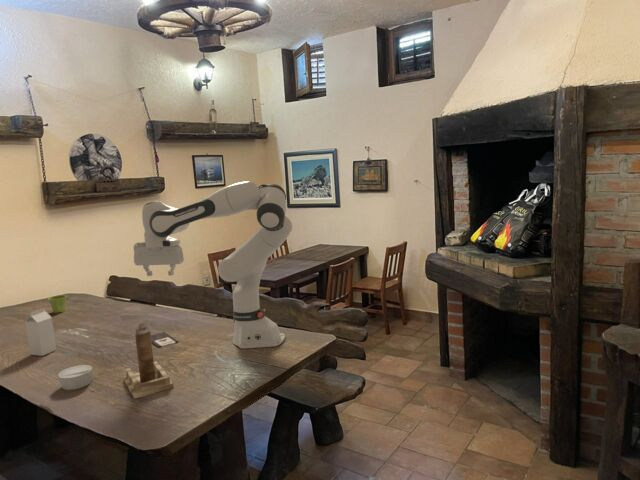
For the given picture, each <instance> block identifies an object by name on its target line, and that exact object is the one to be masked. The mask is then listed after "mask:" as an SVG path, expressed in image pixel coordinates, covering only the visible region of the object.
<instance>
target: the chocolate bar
mask: <svg viewBox="0 0 640 480" xmlns="http://www.w3.org/2000/svg"><path fill="white" fill-rule="evenodd" d="M151 342H152V345H154V346H155V347H156V348H158V349H159V348H163V347H166V346H170V345H174V344H178V343H179V340H177V339H176V338H174V337H173V336H171V335H170V334H168V333H167V332H165V331H162V332H159V333H155V334H151Z"/></svg>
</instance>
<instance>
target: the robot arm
mask: <svg viewBox="0 0 640 480" xmlns="http://www.w3.org/2000/svg"><path fill="white" fill-rule="evenodd" d="M286 200H287V195H286V191H285V189H284V188H283V187H282V186H281V185H278V184H276V183H268V184H263V183H262V184H261V185H259V186H258V185H257V183H256V182H255V181H252V180H251V181H250V180H247V181H240V182H236V183H233V184H230V185H228V186H224V187H222V188H220V189H218V190H216V191H214V192H213V193H211V194H209V195H207V196H205V197H204V198H202V199H200V200H199V201H196V202H193V203H192V204H189V205H185V206H183V207H180V208H178V207H173V206H171V205H168V204H165V202H164V201H161V200H155V201H150V202H147V203H145V204H144V205H143V206H142V210H141V211H142V212H141V214H142V215H141V216H142V217H141V218H142V226H143V228H144V235H143V236H144V241H143V242H136V243H135V244H134V245H133V264H135V266H142V268H143V270H144V271H145V272H146V276H147V277H151V276H153V270H150V266H162V265H163V266H165V265H169V267H170V270H168V271H167V275H168V276H174V275H175V272H174V271H175V268H176V266H177V265H180V264H182V263H183V262H184V259H185V258H184V257H185V256H184V252H183V248H182V246H181V245H180V244H181V240H180V239H179V238H176V237H174V236H171V235H173V234H174V235H175V234H177V233H182V232H183V231H185V230H186V229H188V227H189V225H190V223H193V222H197V221H199V220H205V219H214V218H223V217H224V218H225V217H229V216H233V215H236V214H240V213H242V212H245V211H247V210H254V211H256V219H257V222H258V224H259V225H260V227H259V229H257V231H255V233H254V234H253V235H252V236H251V237H250V238H249V239H248V240H247V241H246V242H244V243H242V245H240V246H239V247H237V248H236V249H235V250H234V251H233V252H232V253H230V254H229V255H228V256H226V257H225V258H223V259H222V260H220V262H219V264H218V267H217V270H218V274H219V277H220V278H221V280H223V281H225V282H228V283H231V282H232V283H233V282H236V285H235V288H234V289H233V291H232V305H233V310H232V318H233V319H232V320H233V323H234V332H233V339H232V343H233V345H235V346H237V347H238V348H239V349H255V348H256V349H257V348H259V349H260V348H270V347H271V348H272V347H273V348H274V347H277V346H279V345H282V343H283V342H284V341H285V339H286V335H285V333H281V332H280V329H279V326H278V324H277V322H274V321H272V320H271V319H270V318H268V317H267V316H265V315H266V314H265V312H266V308H264V309H263V308H261V307H260V295H259V294H260V283H261V279H262V275H263V272H264V270H265V268H266V267H267V259H269V258H270V257H271V256H272V255H273V254H274V253H275V252H276V251H277V250H278V249H279V248H280V247H281V246H282V245H283V243H284V242H285V241H286V240H287V238H288V237H289V236H290V234H291V232H292V230H293V224H292V222H291V220H290V218H288V216H287V215H286V210H287V201H286Z"/></svg>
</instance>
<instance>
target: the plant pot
mask: <svg viewBox="0 0 640 480" xmlns="http://www.w3.org/2000/svg"><path fill="white" fill-rule="evenodd" d="M67 297H68V295H64V294H63V295H62V294H61V295H54V296H50V297H48V298H47V300H48V301H49V303H50V307H51V309H52V312H53V314H59V313H63V312H66V301H67Z"/></svg>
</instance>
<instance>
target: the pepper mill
mask: <svg viewBox="0 0 640 480" xmlns="http://www.w3.org/2000/svg"><path fill="white" fill-rule="evenodd" d="M151 333H152V332H151V331H150V327H147V325H146V324H145V323H140V324H138V328H136V329H135V334H134V335H135V345H136V352H137V361H138V362H137V363H138V373H140V382H142V383H144V382H148V381H151V380H155V371H154V362H155V361H154V354H153V353H154V351H153V344H152V342H151V335H152V334H151Z"/></svg>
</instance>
